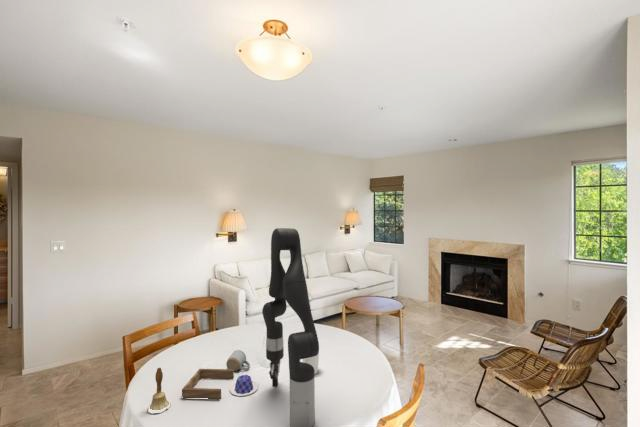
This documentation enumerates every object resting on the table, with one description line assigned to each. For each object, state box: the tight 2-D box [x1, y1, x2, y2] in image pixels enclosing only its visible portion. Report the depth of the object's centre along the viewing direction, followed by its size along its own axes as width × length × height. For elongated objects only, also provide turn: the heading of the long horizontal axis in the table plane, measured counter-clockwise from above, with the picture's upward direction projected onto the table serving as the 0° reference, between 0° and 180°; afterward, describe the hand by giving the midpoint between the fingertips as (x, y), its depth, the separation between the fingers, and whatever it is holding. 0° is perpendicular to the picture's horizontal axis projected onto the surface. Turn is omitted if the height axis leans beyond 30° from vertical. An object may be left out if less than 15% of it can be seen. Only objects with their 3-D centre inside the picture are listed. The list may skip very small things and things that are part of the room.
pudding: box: [229, 374, 259, 397], centre depth 143 cm, size 12×12×5 cm
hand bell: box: [149, 367, 170, 410], centre depth 130 cm, size 8×8×16 cm
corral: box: [181, 368, 235, 400], centre depth 144 cm, size 17×16×4 cm
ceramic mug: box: [226, 349, 251, 372], centre depth 161 cm, size 11×8×8 cm
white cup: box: [302, 352, 320, 375], centre depth 158 cm, size 8×8×10 cm
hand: (275, 385), depth 143 cm, fingers closed
